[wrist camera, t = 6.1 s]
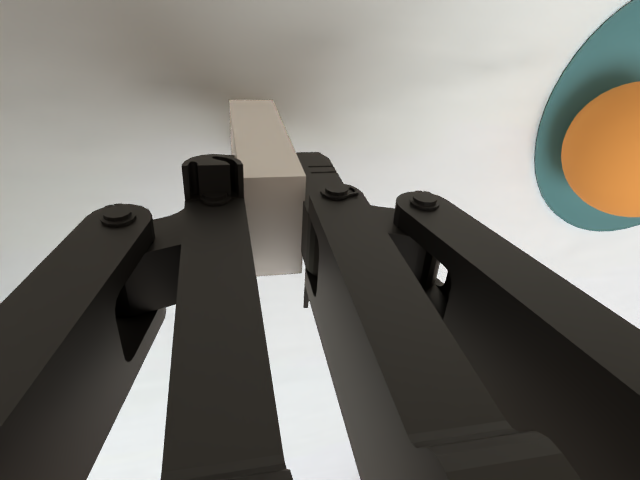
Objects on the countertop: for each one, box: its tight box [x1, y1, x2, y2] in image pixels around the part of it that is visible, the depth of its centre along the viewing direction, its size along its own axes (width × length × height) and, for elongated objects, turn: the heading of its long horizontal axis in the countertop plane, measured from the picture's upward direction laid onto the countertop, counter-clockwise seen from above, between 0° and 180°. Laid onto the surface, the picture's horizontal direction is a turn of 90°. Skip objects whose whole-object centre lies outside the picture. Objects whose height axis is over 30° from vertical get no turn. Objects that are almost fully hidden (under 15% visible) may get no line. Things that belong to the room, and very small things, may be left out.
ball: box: [561, 81, 640, 217], centre depth 19 cm, size 6×6×6 cm
